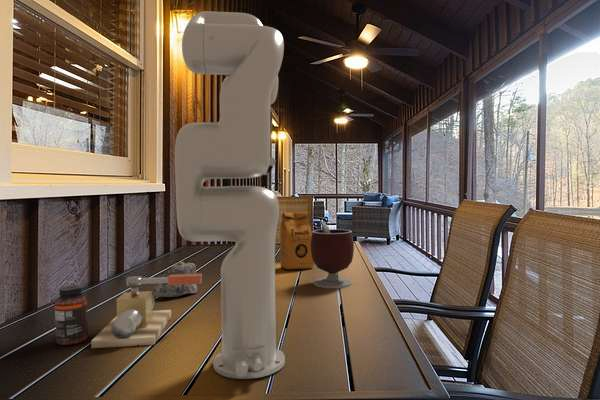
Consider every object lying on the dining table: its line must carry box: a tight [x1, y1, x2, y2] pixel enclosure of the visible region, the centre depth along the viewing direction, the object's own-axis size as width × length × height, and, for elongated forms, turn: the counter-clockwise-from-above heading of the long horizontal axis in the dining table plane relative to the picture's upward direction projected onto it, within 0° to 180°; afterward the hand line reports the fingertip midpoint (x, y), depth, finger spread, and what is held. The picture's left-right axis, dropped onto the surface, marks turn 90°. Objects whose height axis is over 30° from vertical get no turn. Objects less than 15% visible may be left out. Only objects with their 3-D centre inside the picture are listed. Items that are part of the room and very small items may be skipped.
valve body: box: [111, 286, 156, 339], centre depth 93 cm, size 19×6×8 cm, turn 7°
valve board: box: [90, 309, 172, 349], centre depth 93 cm, size 19×12×2 cm, turn 7°
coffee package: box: [279, 211, 315, 271], centre depth 161 cm, size 10×12×22 cm
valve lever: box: [126, 273, 203, 288], centre depth 93 cm, size 16×3×2 cm, turn 97°
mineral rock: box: [152, 261, 199, 298], centre depth 123 cm, size 13×11×10 cm
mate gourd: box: [311, 220, 355, 289], centre depth 136 cm, size 16×14×20 cm
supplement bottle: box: [54, 284, 89, 346], centre depth 87 cm, size 6×6×11 cm
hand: (245, 189), depth 117 cm, fingers open, 9 cm apart
